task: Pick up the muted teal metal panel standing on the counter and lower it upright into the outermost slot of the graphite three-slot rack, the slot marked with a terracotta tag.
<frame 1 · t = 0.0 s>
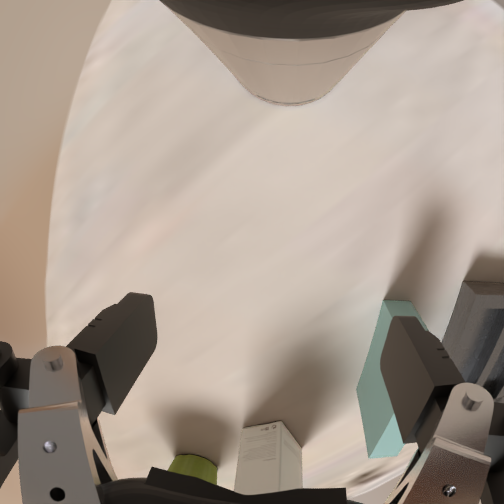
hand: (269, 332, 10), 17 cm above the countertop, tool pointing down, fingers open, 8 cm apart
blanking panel: (382, 349, 30), on the countertop
plant pot: (195, 463, 42), on the countertop
skincare box: (275, 438, 37), on the countertop
rack: (497, 345, 28), on the countertop
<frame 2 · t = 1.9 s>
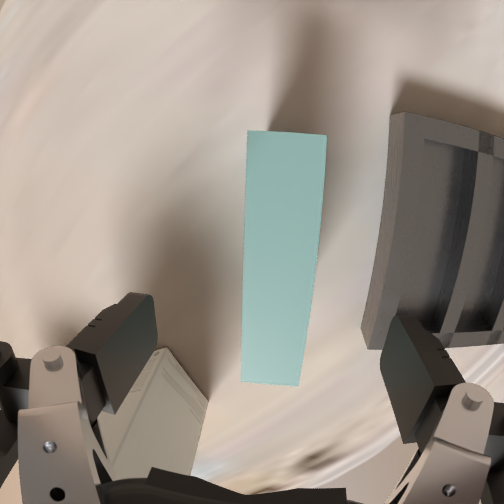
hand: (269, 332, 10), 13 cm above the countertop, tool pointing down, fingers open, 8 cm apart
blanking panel: (282, 222, 22), on the countertop
skincare box: (170, 380, 29), on the countertop
rack: (480, 240, 21), on the countertop
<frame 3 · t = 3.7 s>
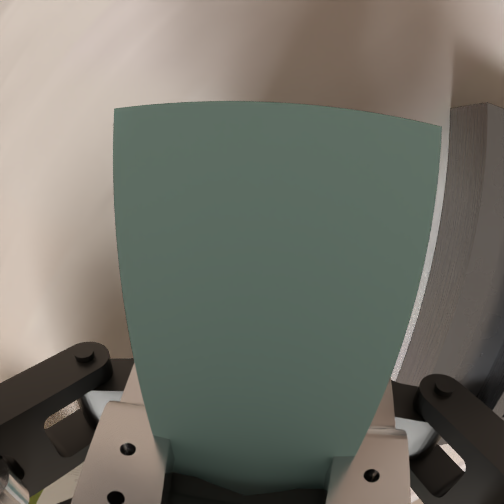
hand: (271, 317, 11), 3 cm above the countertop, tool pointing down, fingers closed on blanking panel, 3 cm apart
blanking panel: (275, 281, 14), on the countertop, touching gripper
skincare box: (135, 452, 20), on the countertop
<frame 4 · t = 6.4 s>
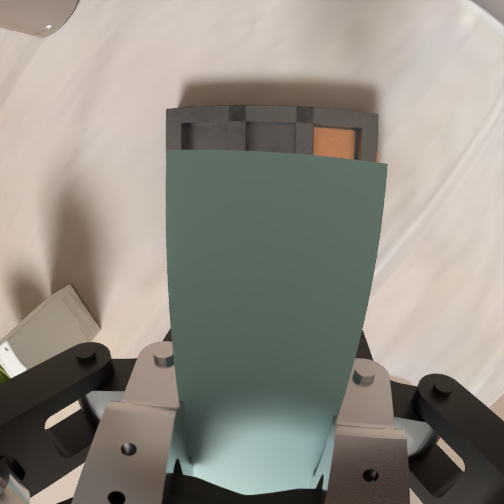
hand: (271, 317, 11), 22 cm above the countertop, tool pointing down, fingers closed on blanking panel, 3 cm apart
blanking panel: (274, 285, 15), point 17 cm above the countertop, touching gripper
skincare box: (77, 312, 39), on the countertop
rack: (270, 193, 31), on the countertop
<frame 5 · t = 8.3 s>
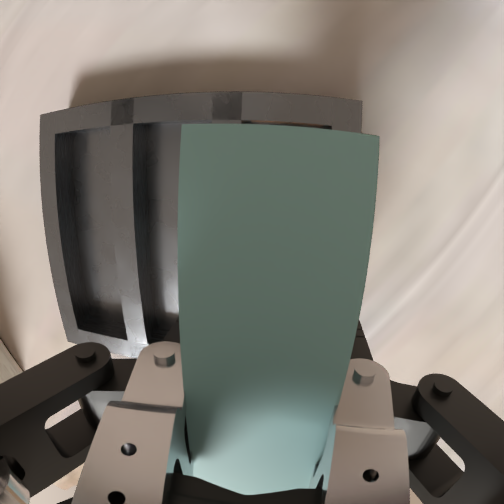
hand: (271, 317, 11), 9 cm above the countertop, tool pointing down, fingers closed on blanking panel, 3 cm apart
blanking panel: (275, 286, 15), point 5 cm above the countertop, tilted 5°, touching gripper
skincare box: (2, 352, 28), on the countertop
rack: (186, 233, 20), on the countertop
when the fingers open (6 cm above the countertop, at t = 9.5 s): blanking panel stays where it is, resting on rack.
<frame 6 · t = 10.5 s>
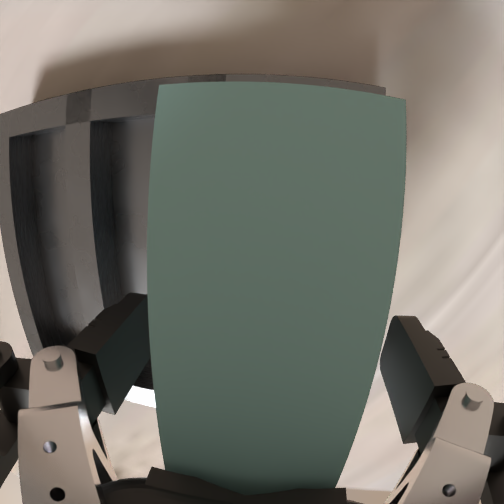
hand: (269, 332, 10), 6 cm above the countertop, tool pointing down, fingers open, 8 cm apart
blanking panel: (273, 303, 14), point 2 cm above the countertop, tilted 9°, touching rack
rack: (162, 255, 16), on the countertop
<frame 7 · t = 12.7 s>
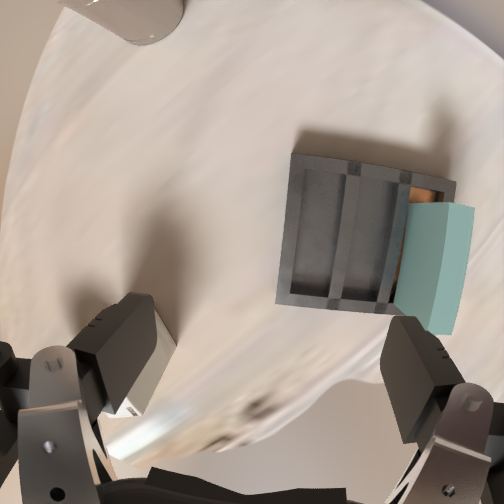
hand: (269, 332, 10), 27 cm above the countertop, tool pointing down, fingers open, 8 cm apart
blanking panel: (413, 255, 33), point 2 cm above the countertop, tilted 9°, touching rack
skincare box: (151, 328, 43), on the countertop
rack: (364, 236, 36), on the countertop
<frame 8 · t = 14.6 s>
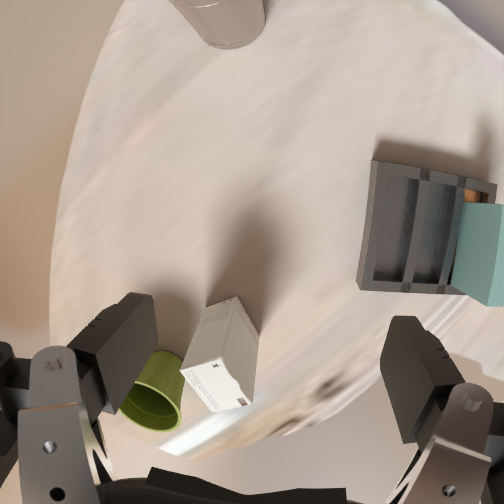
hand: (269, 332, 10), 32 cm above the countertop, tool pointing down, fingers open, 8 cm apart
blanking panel: (464, 245, 37), point 2 cm above the countertop, tilted 9°, touching rack
plant pot: (167, 365, 52), on the countertop
skincare box: (234, 322, 47), on the countertop
rack: (427, 229, 39), on the countertop
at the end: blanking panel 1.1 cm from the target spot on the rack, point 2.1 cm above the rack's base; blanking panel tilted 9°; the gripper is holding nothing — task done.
